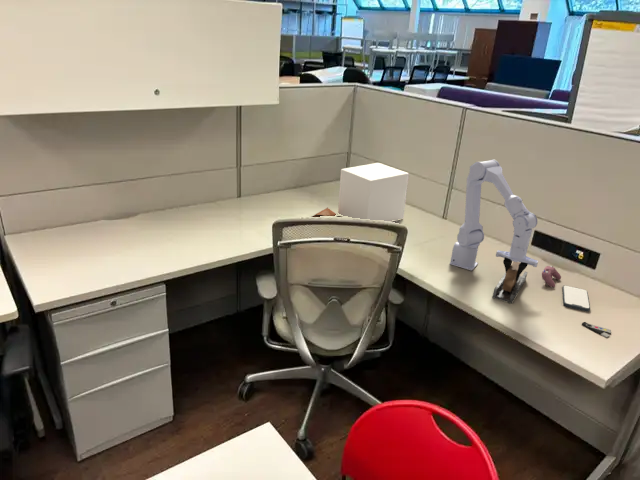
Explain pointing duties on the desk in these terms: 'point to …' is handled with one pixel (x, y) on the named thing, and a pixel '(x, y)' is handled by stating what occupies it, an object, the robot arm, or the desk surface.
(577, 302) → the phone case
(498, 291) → the rail
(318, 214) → the sunglasses case
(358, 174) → the cube
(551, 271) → the video game controller
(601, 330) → the usb flash drive
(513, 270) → the brown rectangular block
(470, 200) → the robot arm
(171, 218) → the desk surface
